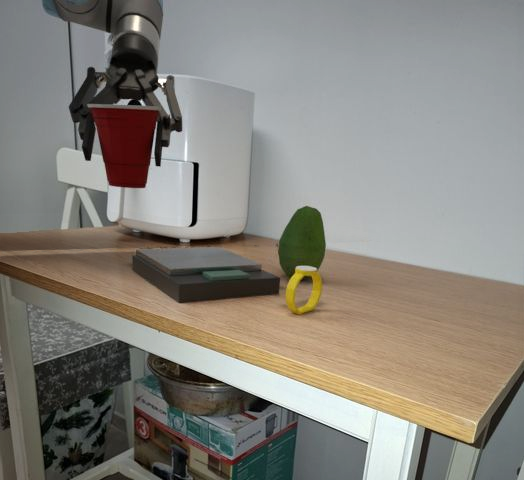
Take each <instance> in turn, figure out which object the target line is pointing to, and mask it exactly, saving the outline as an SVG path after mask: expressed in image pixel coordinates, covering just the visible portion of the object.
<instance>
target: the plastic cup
mask: <svg viewBox="0 0 524 480" xmlns="http://www.w3.org/2000/svg"><path fill="white" fill-rule="evenodd" d="M87 106H88V107H90V110H91V113H92V115H93V118H94V121H95V122H94V123H95V127H96V132H97V136H98V142H99V147H100V153H101V156H102V162H103V163H104V164H103V165H104V169H105V175H106V180H107V182H108V186H110V187H115V188H124V189H146V187H147V184H148V177H149V170H150V166H151V162H152V161H151V160H152V154H153V146H154V140H155V134H156V129H157V117H158V113H159V111H160V110H161V107H155V106H146V105H136V104H135V105H134V104H133V105H132V104H113V105H111V104H87Z"/></svg>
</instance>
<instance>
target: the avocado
mask: <svg viewBox="0 0 524 480" xmlns="http://www.w3.org/2000/svg"><path fill="white" fill-rule="evenodd" d="M288 221H289V222H288V223H287V225H286V226H285V228H284V229H283V231H282V234H281V236H280V238H279V242H278V248H277V254H278V263H279V266H280V268H281V270H282V271H283V273H284V274H285V276H287V277H289V278H291V277H292V276H293V275H294V274H295V268H296V267H297V266H311V267H315V268H317V272H318V271H319V270H320V268H321V266H322V264H323V262H324V259H325V256H326V248H327V242H326V236H325V235H326V234H325V225H324V221H323V217H322V213H321V212H320V211H319V209H317V208H316V207H313V206H308V205H305V206H302V207H300V208H298V209H297V210H296V211H295V212H294V213H293V214H292V216H291V218H290V220H288ZM309 278H312V276H304V277H303V278H302V279H301V280H306V279H309ZM301 280H300V281H301Z"/></svg>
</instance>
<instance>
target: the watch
mask: <svg viewBox="0 0 524 480" xmlns="http://www.w3.org/2000/svg"><path fill="white" fill-rule="evenodd" d="M304 276H311V279H312V291H311V293H310V296H309V297H310V298H309V300H308V301H307V302H306V304H305V305H302V306H300V307H298V308H297V305H296V301H295V300H296V291H297V289H298V287H299V284H300V282H301V279H302V278H303V277H304ZM322 292H323V280H322V278H321V275H320V273H319V272H318V271H317V268H315V267H311V266H297V267H296V268H295V274H294V275H293V276H292V277H290V279H289V280H288V284H287V286H286V289H285V298H284V299H285V303H286V307H287V309H288V310H289V311H290V312H291V313H294V314H296V315H302V314H305V313H308V312H310V311H314V310H315V308H317V307H316V306H317V305H318V303H319V302H320V299H321V296H322Z"/></svg>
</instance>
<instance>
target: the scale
mask: <svg viewBox="0 0 524 480" xmlns="http://www.w3.org/2000/svg"><path fill="white" fill-rule="evenodd" d="M131 260H132V261H131V262H132V263H131V268H132V269H131V270H132V271H133V272H134V273H136V274H137V275H139V276H140V277H141V278H143V279H144V280H145V281H147V282H149V283H150V284H151V285H153V286H154V287H156V288H157V289H158V290H160V291H161V292H163V293H165V294H166V295H167V296H169V297H170V298H171V299H173V300H174V301H176V302H177V303H178V304H179V303H189V302H190V303H191V302H203V301H214V300H223V299H225V300H226V299H238V298H247V297H248V298H249V297H258V296H269V295H270V296H271V295H279V294H280V286H281V285H280V284H281V277H279V276H278V275H275V274H274V273H270V272H268V271H267V270H263V268H262V267H263V265H262V263H259V262H257V261H254V260H252V259H250V258H247V257H245V256H242V255H240V254H237V253H235V252H232V251H231V250H227V249H225V248H222V247H221V246H209V247H171V248H170V247H169V248H167V247H165V248H136V249H135V254H132V255H131Z"/></svg>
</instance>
